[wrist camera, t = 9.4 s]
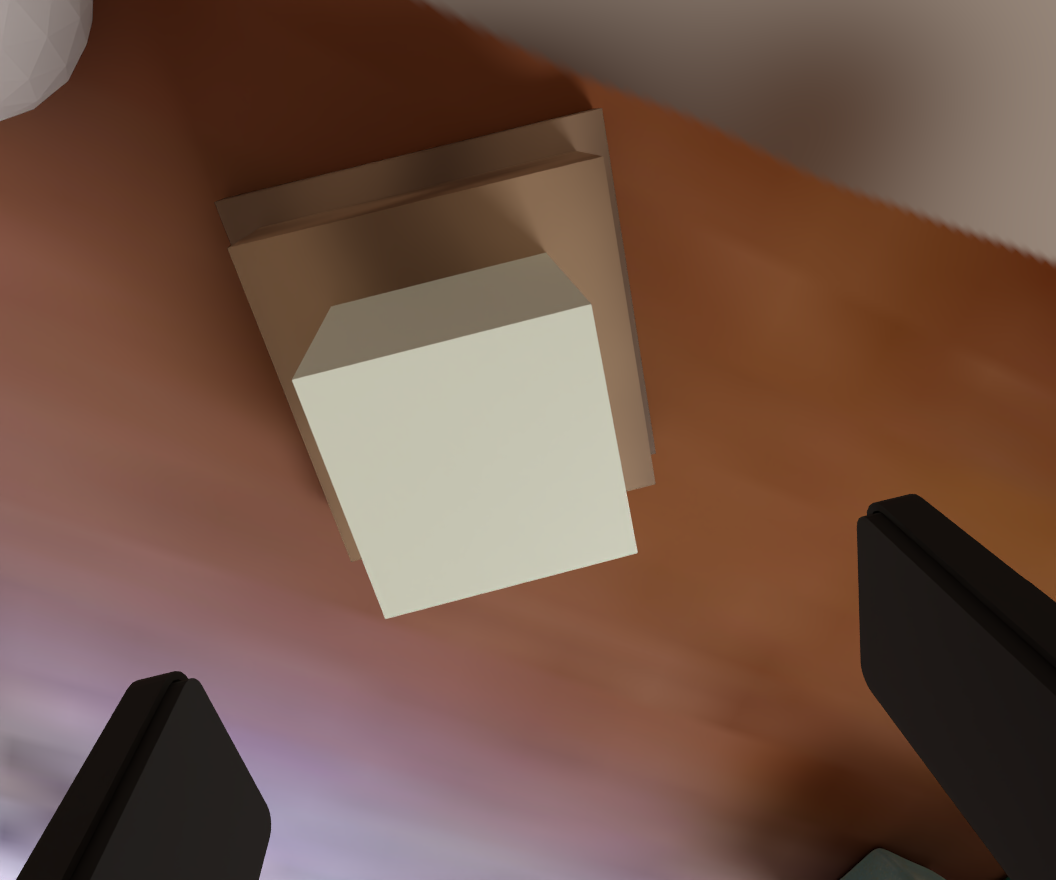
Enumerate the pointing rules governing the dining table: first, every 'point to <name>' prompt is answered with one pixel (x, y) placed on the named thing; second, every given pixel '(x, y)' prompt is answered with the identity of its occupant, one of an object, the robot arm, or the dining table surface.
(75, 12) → the perfume bottle
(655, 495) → the dining table surface
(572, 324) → the cream block
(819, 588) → the dining table surface
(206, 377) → the dining table surface
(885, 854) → the flower pot
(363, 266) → the walnut pedestal
